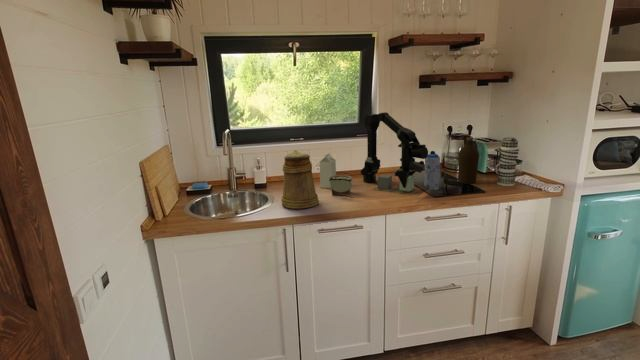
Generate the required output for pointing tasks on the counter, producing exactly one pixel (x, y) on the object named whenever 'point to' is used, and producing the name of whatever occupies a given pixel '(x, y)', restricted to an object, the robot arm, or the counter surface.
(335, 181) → the food container
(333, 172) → the milk carton
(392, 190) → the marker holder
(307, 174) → the tankard
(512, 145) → the decorative candle
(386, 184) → the gray block
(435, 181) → the aerosol can
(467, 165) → the olive oil
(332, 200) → the counter surface
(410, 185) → the sage cap
